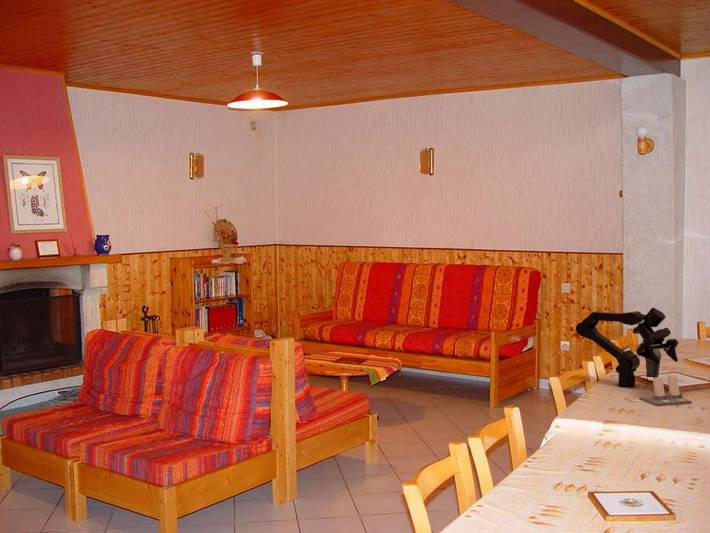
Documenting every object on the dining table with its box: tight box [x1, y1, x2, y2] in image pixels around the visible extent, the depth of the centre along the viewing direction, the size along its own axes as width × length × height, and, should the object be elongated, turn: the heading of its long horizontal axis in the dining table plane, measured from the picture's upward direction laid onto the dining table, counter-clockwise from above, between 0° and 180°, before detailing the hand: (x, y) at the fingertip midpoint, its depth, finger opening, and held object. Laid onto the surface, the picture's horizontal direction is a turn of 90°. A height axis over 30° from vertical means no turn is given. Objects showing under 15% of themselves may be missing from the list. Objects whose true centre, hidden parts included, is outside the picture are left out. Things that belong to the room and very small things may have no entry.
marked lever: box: [667, 375, 680, 397], centre depth 337 cm, size 1×4×8 cm, turn 104°
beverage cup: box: [644, 349, 662, 378], centre depth 374 cm, size 7×7×20 cm
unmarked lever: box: [652, 376, 666, 398], centre depth 336 cm, size 1×4×8 cm, turn 104°
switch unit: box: [638, 392, 693, 407], centre depth 336 cm, size 12×16×3 cm
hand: (668, 362), depth 345 cm, fingers open, 9 cm apart
